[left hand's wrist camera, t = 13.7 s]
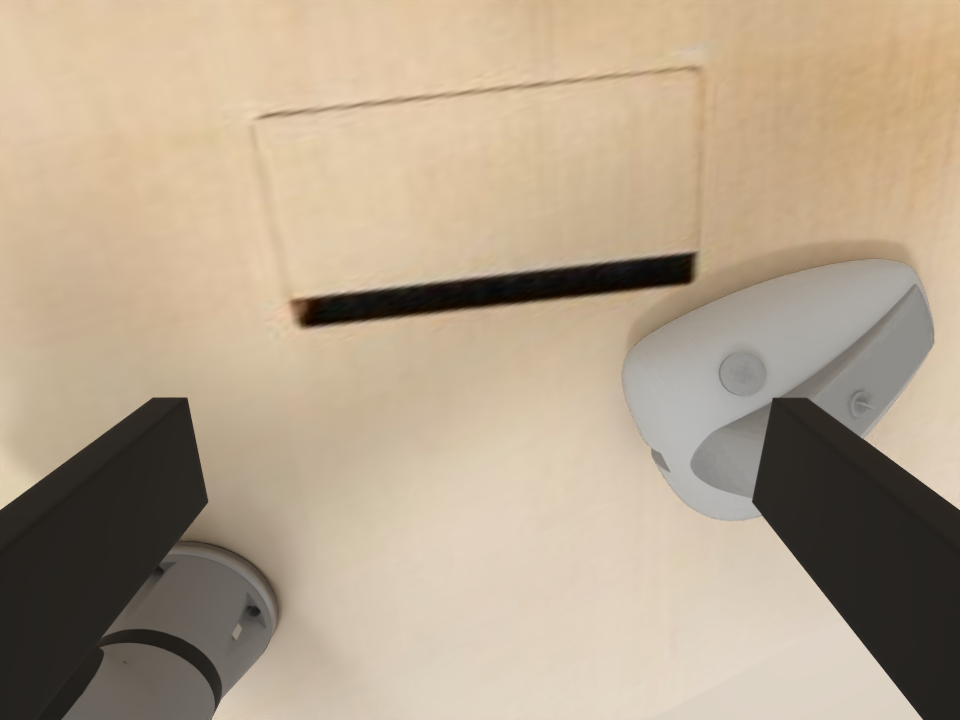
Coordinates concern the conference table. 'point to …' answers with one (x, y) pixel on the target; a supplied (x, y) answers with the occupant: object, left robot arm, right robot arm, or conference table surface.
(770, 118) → the conference table surface
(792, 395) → the projector
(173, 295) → the conference table surface
